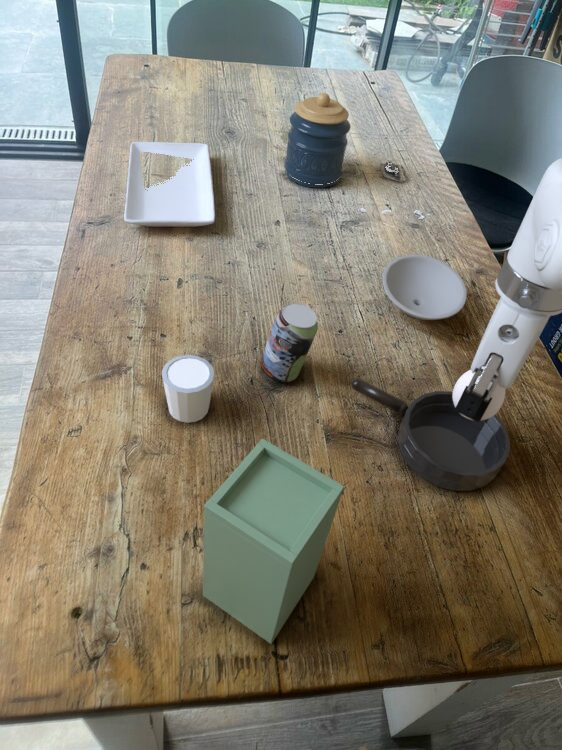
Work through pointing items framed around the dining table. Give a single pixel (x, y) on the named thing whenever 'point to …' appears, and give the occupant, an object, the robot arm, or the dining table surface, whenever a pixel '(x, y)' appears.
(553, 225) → the robot arm
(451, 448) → the pan
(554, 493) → the dining table surface
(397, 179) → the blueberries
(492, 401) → the egg
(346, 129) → the canister
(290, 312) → the beverage can
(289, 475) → the stand
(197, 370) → the white cylinder
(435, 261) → the dish
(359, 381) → the pan handle
